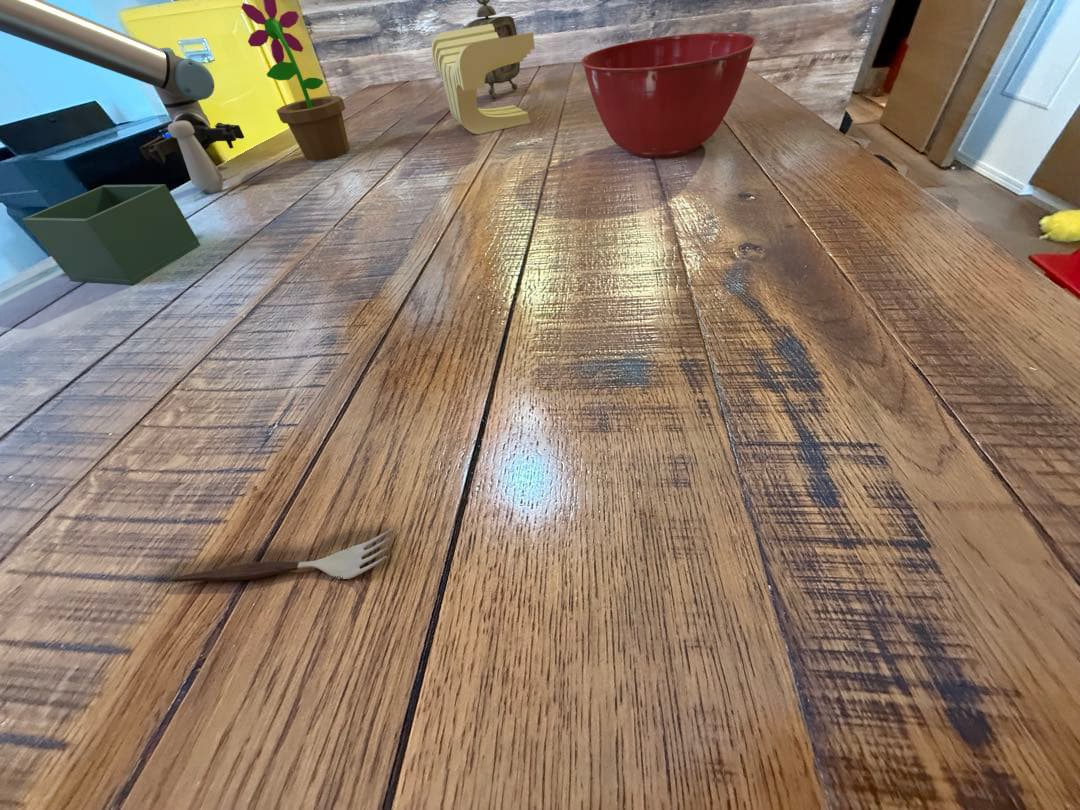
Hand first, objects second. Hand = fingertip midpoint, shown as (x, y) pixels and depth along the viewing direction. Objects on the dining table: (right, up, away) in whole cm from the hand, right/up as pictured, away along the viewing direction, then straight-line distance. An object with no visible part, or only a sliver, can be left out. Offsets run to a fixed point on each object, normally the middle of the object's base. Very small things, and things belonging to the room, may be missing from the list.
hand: (194, 149), depth 106 cm
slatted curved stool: (+60, +14, +16) cm, 64 cm away
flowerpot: (+23, +5, +13) cm, 27 cm away
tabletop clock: (+60, +36, +40) cm, 81 cm away
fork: (+55, -65, -71) cm, 110 cm away
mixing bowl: (+95, -5, -11) cm, 96 cm away
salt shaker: (+3, -8, +1) cm, 9 cm away
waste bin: (+8, -31, -25) cm, 40 cm away
